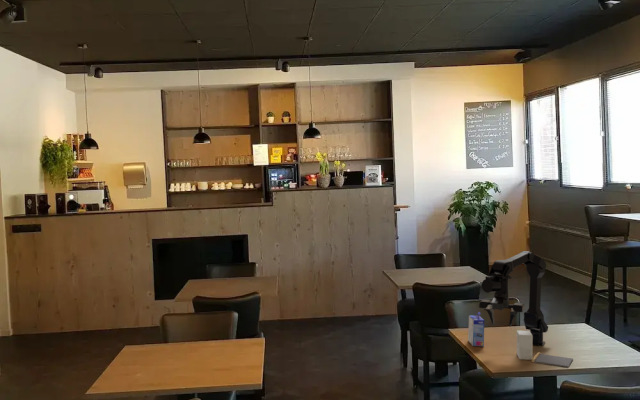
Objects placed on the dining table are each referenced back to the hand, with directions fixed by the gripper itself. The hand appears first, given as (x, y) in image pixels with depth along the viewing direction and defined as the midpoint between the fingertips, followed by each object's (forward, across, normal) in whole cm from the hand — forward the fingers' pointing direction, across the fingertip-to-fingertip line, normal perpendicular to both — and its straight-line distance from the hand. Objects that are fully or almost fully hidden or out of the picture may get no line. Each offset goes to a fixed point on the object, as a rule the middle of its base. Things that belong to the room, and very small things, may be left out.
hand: (501, 325), depth 260 cm
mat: (+12, +21, 0) cm, 25 cm away
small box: (+13, +10, 0) cm, 16 cm away
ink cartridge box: (+13, -14, +10) cm, 22 cm away
